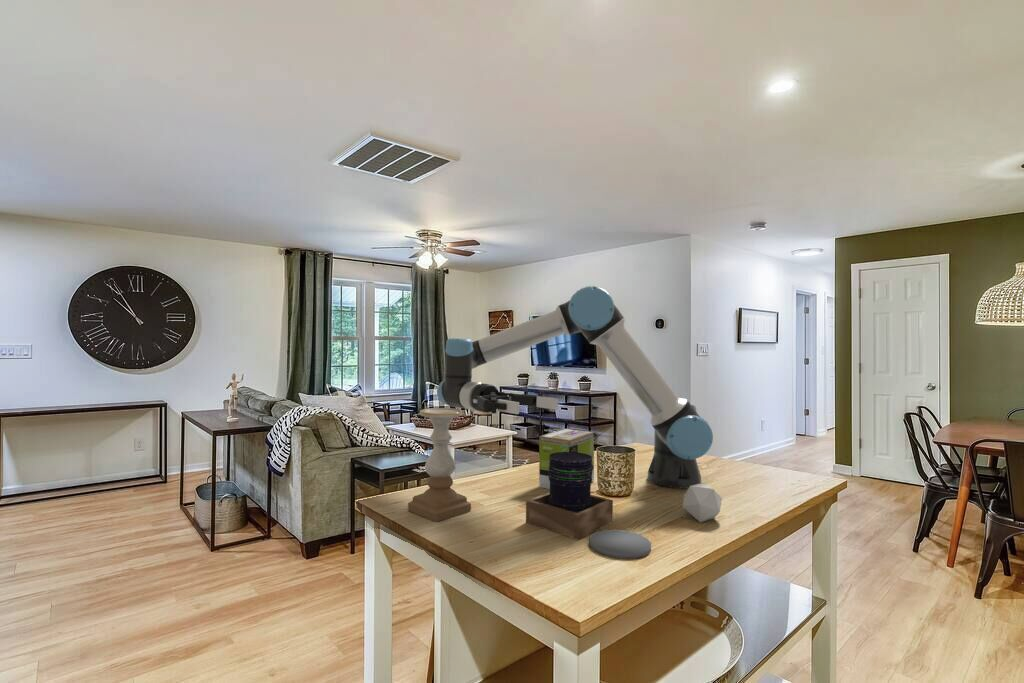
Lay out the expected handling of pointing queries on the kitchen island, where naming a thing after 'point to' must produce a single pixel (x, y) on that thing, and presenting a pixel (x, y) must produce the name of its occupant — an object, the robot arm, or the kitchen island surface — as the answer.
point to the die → (702, 502)
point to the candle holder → (440, 472)
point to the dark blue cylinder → (570, 481)
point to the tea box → (563, 449)
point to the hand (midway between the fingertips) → (538, 406)
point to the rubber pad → (620, 544)
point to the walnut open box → (569, 516)
